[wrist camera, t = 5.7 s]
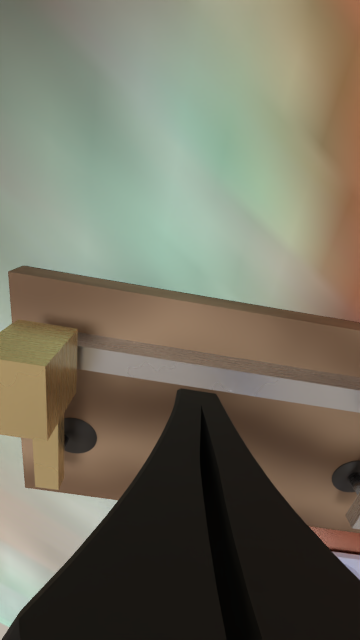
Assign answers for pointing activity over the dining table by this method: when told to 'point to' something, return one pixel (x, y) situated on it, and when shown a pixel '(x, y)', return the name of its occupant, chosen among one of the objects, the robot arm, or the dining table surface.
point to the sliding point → (38, 391)
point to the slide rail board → (159, 397)
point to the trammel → (224, 378)
